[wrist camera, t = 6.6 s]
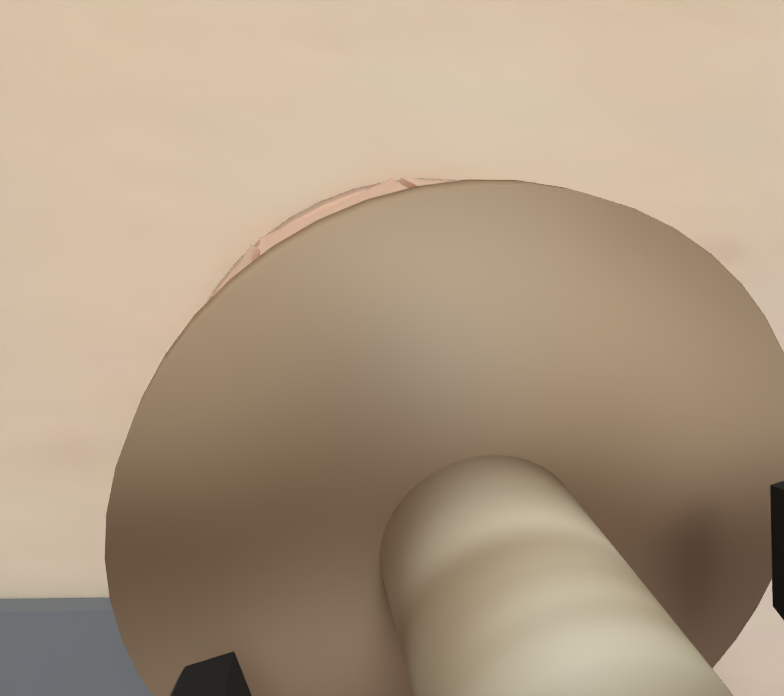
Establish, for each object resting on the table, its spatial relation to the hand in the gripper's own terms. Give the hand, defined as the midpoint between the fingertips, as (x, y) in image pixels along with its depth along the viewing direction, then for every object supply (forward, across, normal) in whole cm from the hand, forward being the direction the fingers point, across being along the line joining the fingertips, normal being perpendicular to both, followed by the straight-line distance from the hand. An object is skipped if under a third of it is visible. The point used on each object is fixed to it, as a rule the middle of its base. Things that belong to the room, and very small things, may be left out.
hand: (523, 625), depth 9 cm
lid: (+3, 0, 0) cm, 3 cm away
